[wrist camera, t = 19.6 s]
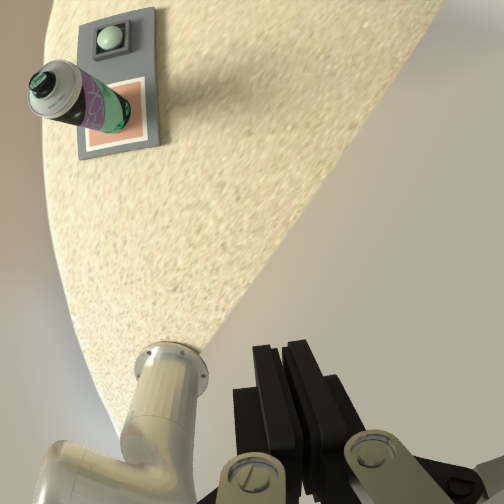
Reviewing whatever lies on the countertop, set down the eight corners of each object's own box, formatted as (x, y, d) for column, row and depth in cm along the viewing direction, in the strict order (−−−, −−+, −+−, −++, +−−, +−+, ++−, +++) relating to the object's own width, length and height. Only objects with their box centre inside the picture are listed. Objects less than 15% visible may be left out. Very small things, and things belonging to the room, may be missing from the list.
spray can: (91, 129, 37) (4, 109, 17) (104, 92, 35) (27, 49, 16) (124, 138, 38) (48, 118, 18) (138, 100, 36) (74, 53, 17)
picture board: (160, 145, 40) (156, 144, 37) (83, 160, 39) (74, 160, 36) (155, 10, 34) (151, 1, 31) (83, 29, 33) (75, 22, 30)
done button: (123, 47, 34) (120, 44, 32) (100, 53, 33) (96, 50, 32) (124, 27, 33) (121, 23, 31) (101, 33, 32) (97, 29, 31)
